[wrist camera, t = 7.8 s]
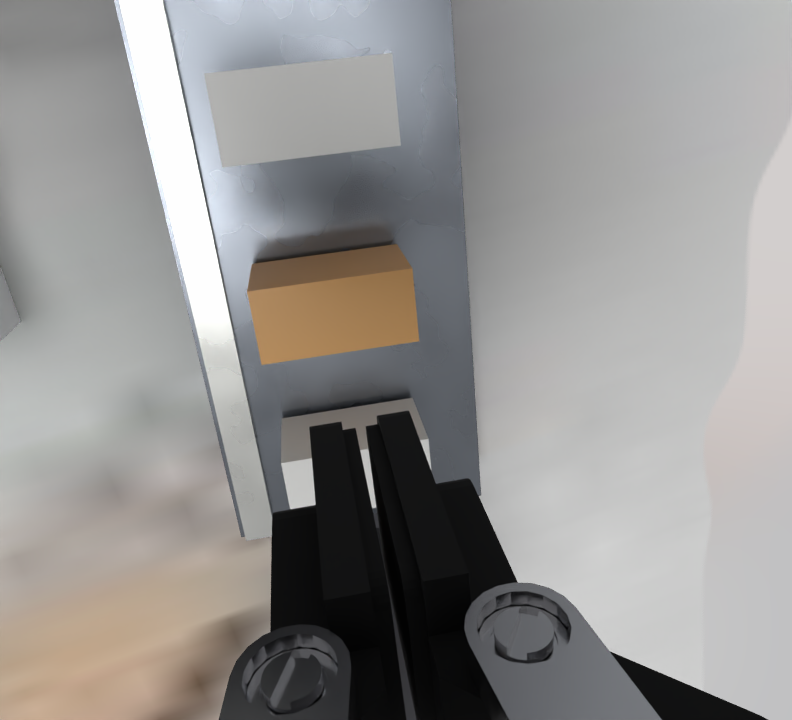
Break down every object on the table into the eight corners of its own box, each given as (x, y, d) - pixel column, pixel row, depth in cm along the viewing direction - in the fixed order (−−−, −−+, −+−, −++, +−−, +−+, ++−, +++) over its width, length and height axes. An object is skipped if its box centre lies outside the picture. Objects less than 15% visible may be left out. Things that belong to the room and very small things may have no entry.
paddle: (215, 72, 21) (203, 73, 18) (377, 55, 21) (391, 53, 18) (231, 154, 22) (222, 167, 19) (385, 135, 22) (400, 145, 19)
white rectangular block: (281, 418, 26) (280, 463, 23) (412, 397, 26) (428, 439, 23) (291, 472, 27) (292, 522, 24) (417, 451, 27) (434, 497, 24)
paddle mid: (251, 263, 23) (247, 291, 20) (396, 243, 24) (412, 268, 21) (264, 329, 24) (261, 365, 21) (403, 308, 25) (419, 341, 22)
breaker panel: (129, -12, 22) (106, -24, 19) (429, -41, 23) (449, -57, 20) (245, 497, 30) (241, 541, 27) (464, 460, 31) (483, 499, 28)
